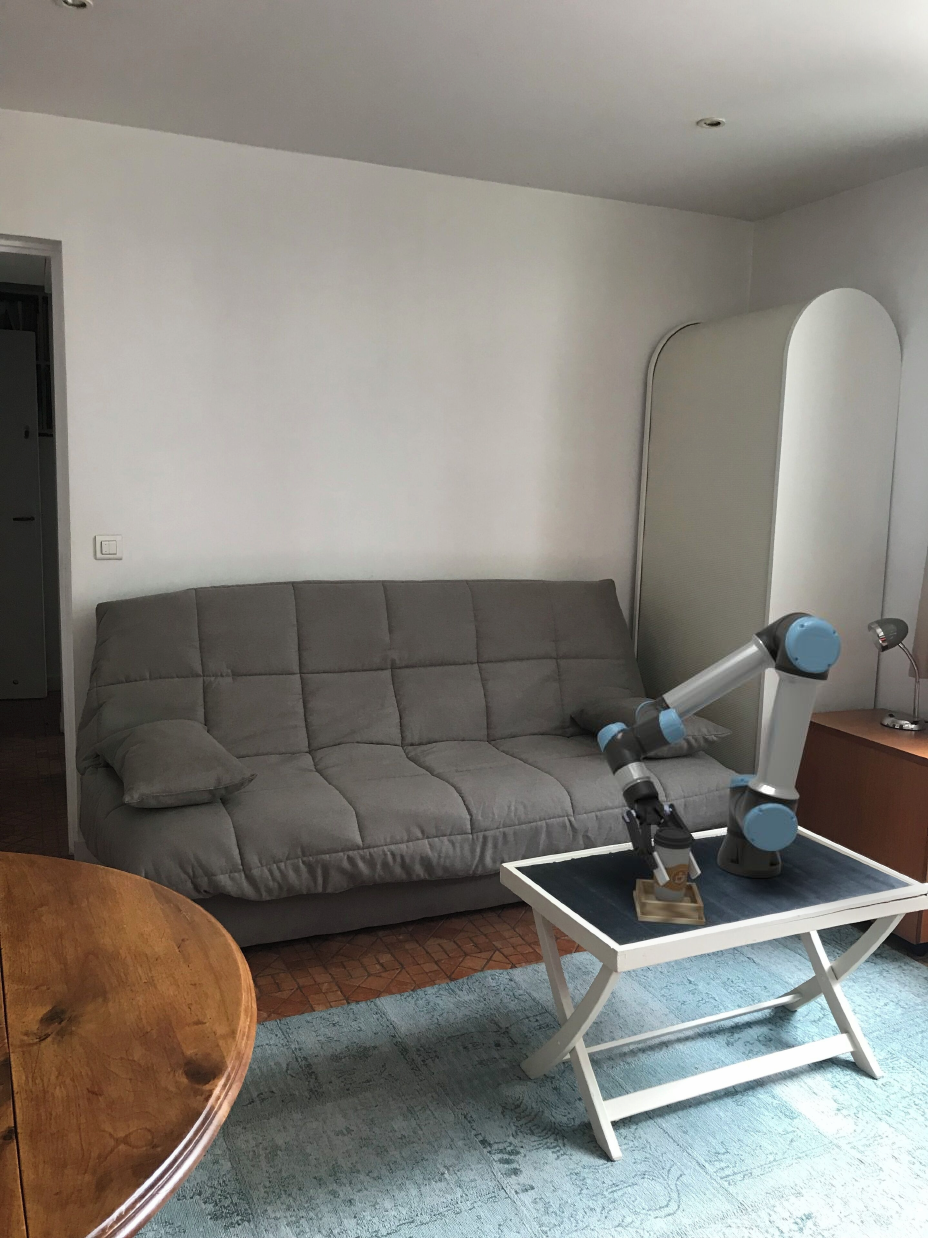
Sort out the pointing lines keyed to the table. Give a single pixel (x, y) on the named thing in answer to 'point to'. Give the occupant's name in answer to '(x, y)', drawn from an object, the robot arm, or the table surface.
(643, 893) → the open wooden box
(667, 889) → the coffee cup
